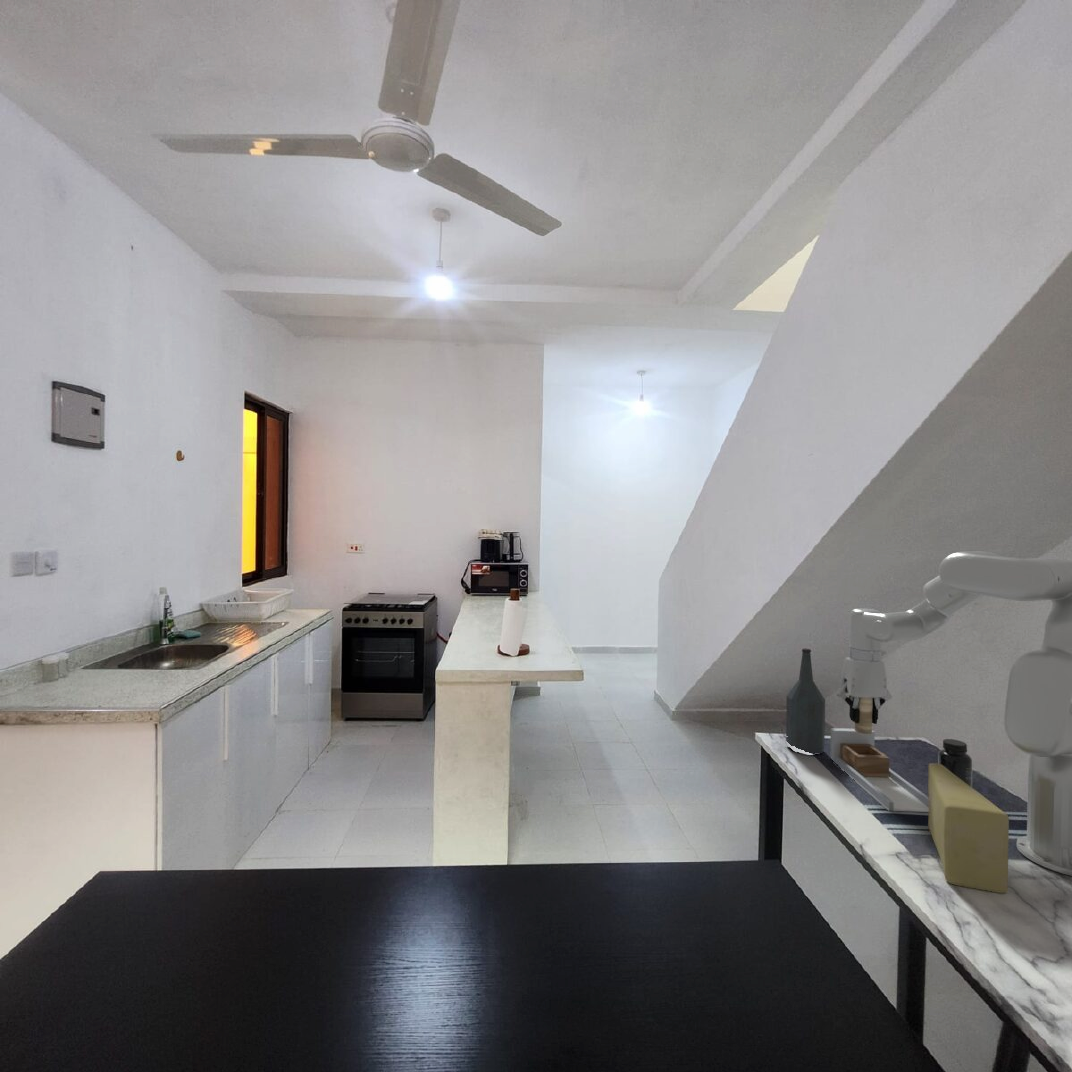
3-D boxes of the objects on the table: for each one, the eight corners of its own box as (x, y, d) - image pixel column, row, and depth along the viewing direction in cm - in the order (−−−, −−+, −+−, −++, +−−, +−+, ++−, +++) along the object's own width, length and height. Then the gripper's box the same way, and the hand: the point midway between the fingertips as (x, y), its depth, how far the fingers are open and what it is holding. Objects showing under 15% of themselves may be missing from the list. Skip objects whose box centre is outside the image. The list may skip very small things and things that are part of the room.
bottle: (830, 756, 156) (832, 653, 156) (796, 756, 156) (797, 652, 156) (813, 742, 167) (814, 645, 166) (780, 742, 167) (782, 644, 166)
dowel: (874, 734, 145) (876, 689, 145) (859, 733, 145) (860, 689, 145) (866, 728, 149) (867, 685, 149) (851, 728, 149) (852, 684, 149)
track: (937, 812, 126) (938, 773, 126) (888, 810, 126) (889, 772, 126) (870, 760, 154) (870, 729, 154) (830, 759, 154) (830, 728, 154)
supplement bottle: (959, 783, 140) (960, 737, 140) (978, 796, 133) (979, 748, 133) (931, 782, 141) (932, 736, 141) (948, 795, 134) (949, 747, 134)
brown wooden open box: (888, 776, 142) (889, 757, 142) (857, 775, 143) (857, 756, 143) (869, 762, 151) (870, 744, 151) (840, 761, 152) (840, 743, 152)
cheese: (906, 823, 121) (907, 756, 121) (958, 831, 118) (959, 762, 118) (945, 884, 100) (946, 804, 100) (1009, 896, 97) (1011, 813, 97)
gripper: (888, 652, 150) (887, 717, 150) (826, 650, 151) (825, 716, 151) (905, 659, 142) (904, 728, 143) (840, 657, 143) (838, 726, 144)
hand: (863, 721), depth 147 cm, fingers closed on dowel, 4 cm apart
